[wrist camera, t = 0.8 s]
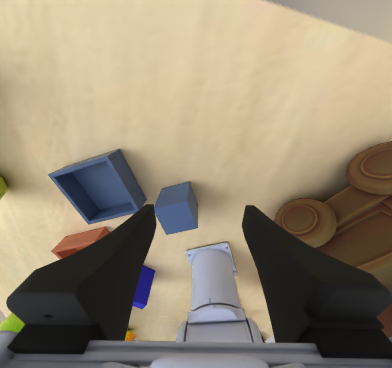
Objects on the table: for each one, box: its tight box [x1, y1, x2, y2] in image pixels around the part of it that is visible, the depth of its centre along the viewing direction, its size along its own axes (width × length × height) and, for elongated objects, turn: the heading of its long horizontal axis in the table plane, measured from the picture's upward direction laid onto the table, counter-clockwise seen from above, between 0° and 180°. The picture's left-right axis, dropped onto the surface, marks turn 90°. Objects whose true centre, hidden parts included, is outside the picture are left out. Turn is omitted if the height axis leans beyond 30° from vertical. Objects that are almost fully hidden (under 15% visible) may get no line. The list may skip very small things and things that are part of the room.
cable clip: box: [132, 266, 155, 309], centre depth 30 cm, size 12×4×6 cm, turn 143°
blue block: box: [154, 182, 198, 235], centre depth 20 cm, size 4×4×5 cm
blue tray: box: [48, 149, 147, 224], centre depth 20 cm, size 8×8×3 cm
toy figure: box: [125, 330, 135, 341], centre depth 43 cm, size 7×4×12 cm
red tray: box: [52, 227, 110, 259], centre depth 26 cm, size 8×8×3 cm
